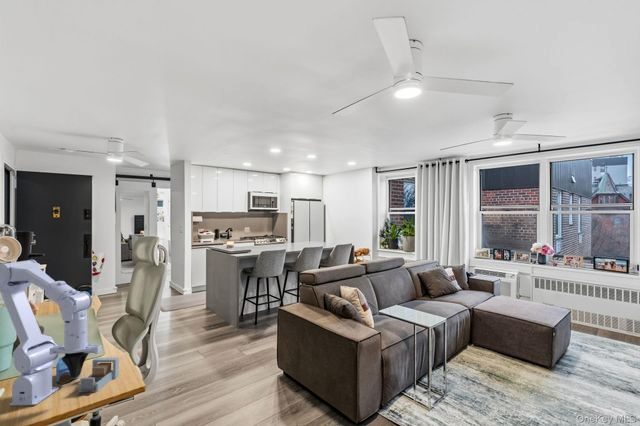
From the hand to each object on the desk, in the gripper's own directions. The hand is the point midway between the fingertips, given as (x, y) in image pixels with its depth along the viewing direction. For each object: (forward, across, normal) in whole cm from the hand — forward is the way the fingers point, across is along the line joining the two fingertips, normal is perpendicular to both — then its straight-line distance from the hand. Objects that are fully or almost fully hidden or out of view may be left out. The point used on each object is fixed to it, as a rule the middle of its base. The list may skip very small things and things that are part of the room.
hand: (75, 376), depth 99 cm
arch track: (+8, 0, -12) cm, 14 cm away
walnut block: (+7, 0, -12) cm, 14 cm away
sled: (+7, 0, -12) cm, 15 cm away
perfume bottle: (+5, +16, -19) cm, 25 cm away
